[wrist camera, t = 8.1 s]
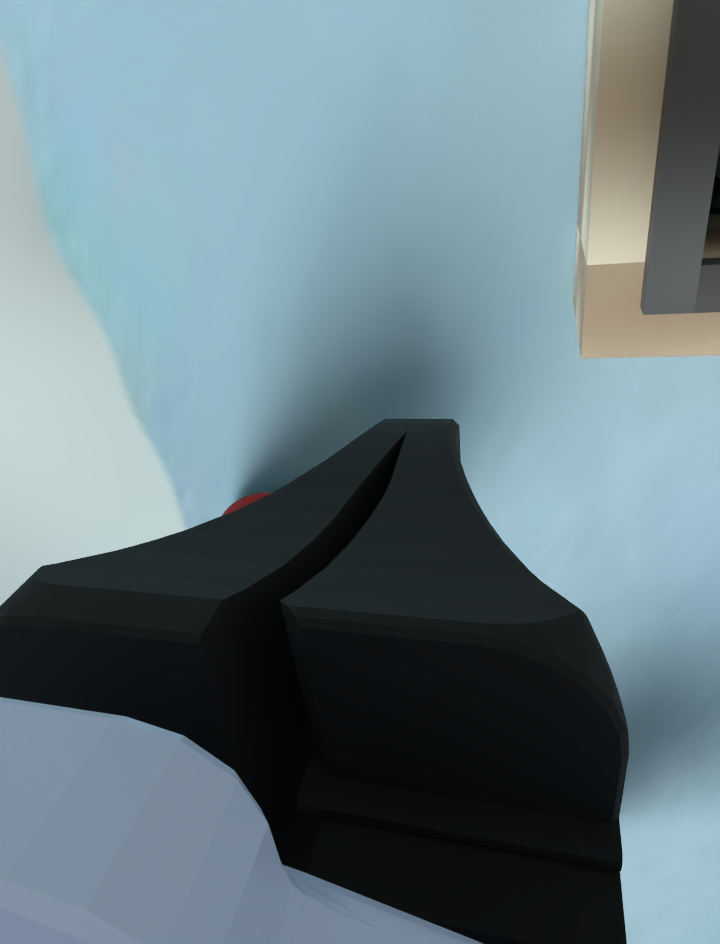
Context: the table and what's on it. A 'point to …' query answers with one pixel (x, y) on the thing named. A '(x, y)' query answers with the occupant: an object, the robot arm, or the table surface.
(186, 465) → the table surface
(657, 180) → the birch block
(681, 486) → the table surface
